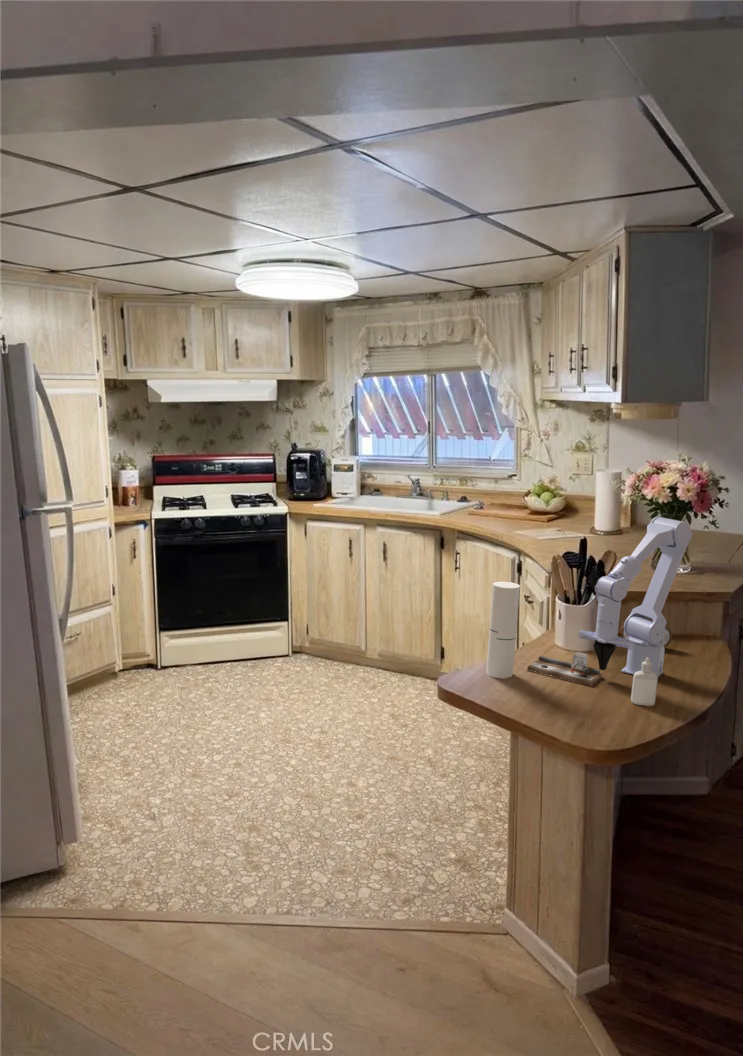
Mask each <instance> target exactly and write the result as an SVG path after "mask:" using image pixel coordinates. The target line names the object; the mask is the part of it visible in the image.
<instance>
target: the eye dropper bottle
mask: <svg viewBox="0 0 743 1056" xmlns="http://www.w3.org/2000/svg"><path fill="white" fill-rule="evenodd" d="M651 671H652V663H650V661H649V658H646V660H645V662H642V667H641V671H637V672H635V673H634V675H633V677H632V686H631V694H630V695H631V696H630V702H631V703H632V704H633V703H634V705H638V706H642V705H643V707H653V706H655V703H656V698H657V697H656V696H657V687H658V681H659V679H658V678H659V677H658V678H657V676H656V674H654V673H652V672H651Z"/></svg>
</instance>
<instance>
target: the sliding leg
mask: <svg viewBox="0 0 743 1056" xmlns="http://www.w3.org/2000/svg"><path fill="white" fill-rule="evenodd" d="M588 655H589V654H588V653H585V652H584V653H583V652H579V651H576V652H575V653H573V655H572V662H571V663H572V665H571V667H572V668H571V673H574V669H576V670H580V671H582V670H583V668H584V666H585V667H588V666H587V665H588V657H589V656H588Z"/></svg>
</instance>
